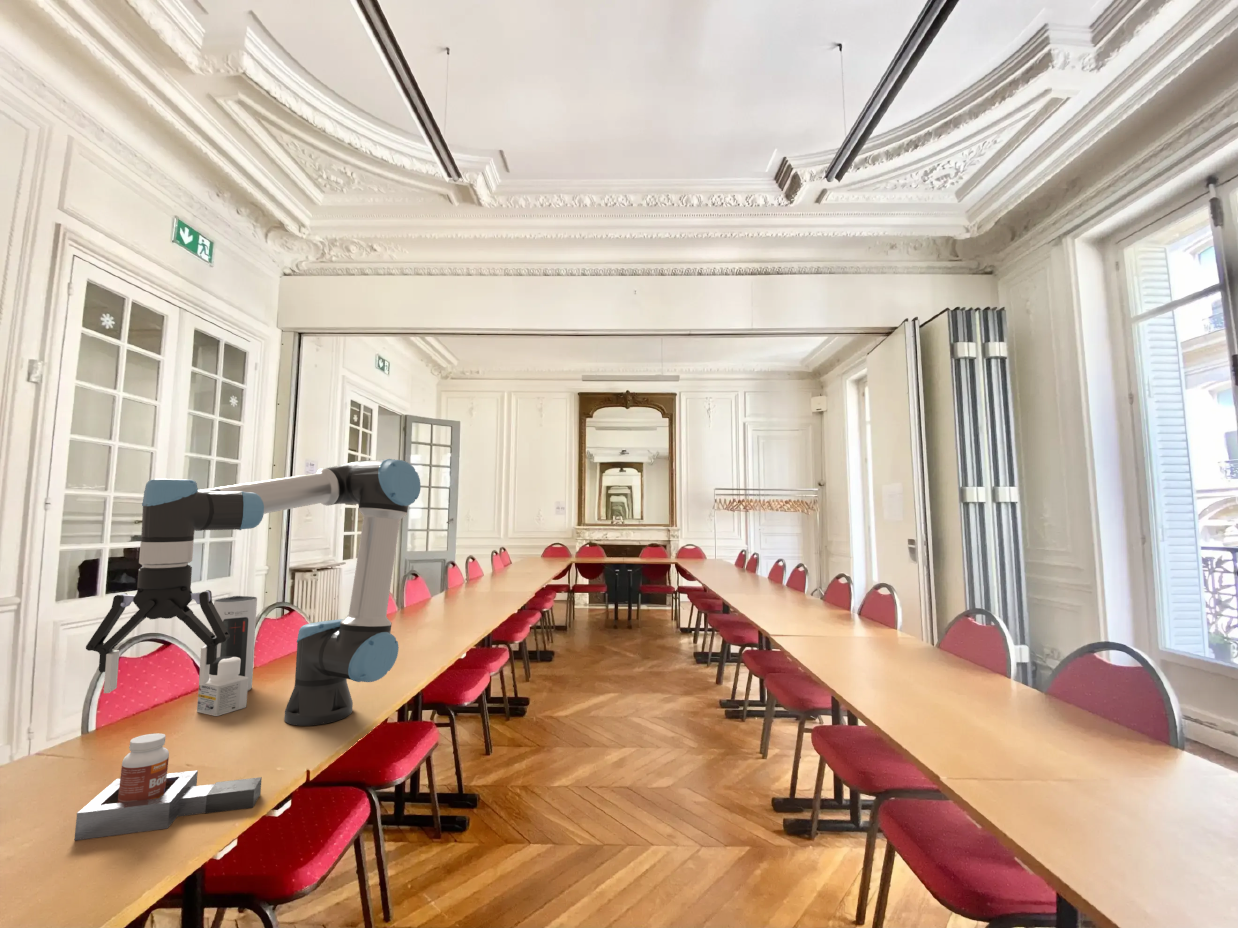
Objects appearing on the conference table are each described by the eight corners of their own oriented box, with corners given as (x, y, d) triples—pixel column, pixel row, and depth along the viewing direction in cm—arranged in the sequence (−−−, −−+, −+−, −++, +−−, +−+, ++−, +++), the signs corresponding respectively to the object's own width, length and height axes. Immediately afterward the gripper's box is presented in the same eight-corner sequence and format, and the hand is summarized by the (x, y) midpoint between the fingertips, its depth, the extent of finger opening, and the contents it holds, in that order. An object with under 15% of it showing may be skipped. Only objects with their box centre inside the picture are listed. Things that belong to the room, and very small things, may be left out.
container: (196, 712, 144) (200, 659, 145) (226, 703, 151) (230, 652, 153) (216, 717, 141) (220, 662, 142) (246, 707, 148) (250, 656, 150)
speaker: (202, 698, 155) (209, 600, 157) (211, 687, 164) (218, 595, 166) (248, 694, 159) (255, 598, 161) (254, 684, 168) (261, 593, 171)
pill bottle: (152, 814, 94) (159, 743, 95) (107, 818, 92) (115, 746, 93) (171, 796, 100) (178, 730, 101) (129, 800, 98) (137, 732, 99)
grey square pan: (265, 785, 107) (267, 763, 107) (246, 818, 95) (248, 792, 96) (114, 803, 99) (116, 779, 100) (74, 840, 88) (76, 813, 88)
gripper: (252, 561, 110) (246, 674, 109) (89, 564, 102) (80, 687, 100) (241, 565, 103) (234, 686, 102) (65, 569, 95) (55, 701, 93)
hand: (158, 687), depth 101 cm, fingers open, 13 cm apart
